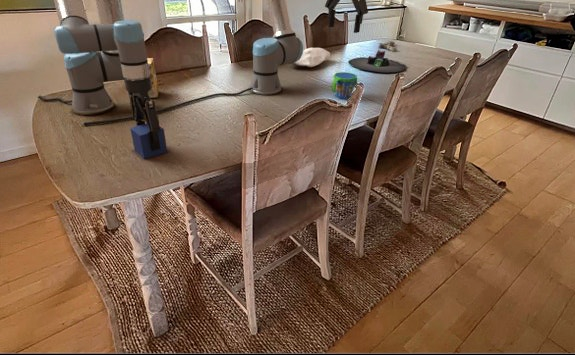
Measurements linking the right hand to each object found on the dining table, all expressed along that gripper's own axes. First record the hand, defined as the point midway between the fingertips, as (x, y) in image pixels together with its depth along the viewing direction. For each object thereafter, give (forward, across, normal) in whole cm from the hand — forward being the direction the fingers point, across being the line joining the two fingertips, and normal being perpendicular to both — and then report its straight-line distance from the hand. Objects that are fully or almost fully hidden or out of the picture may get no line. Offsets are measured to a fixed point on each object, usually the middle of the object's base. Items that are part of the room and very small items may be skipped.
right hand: (343, 29), depth 149 cm
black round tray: (+32, +26, -69) cm, 80 cm away
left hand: (+29, +9, +84) cm, 90 cm away
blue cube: (+32, +9, +84) cm, 90 cm away
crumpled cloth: (+32, +54, -34) cm, 71 cm away
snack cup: (+32, +3, -10) cm, 33 cm away
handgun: (+32, +48, -116) cm, 130 cm away
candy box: (+32, +58, +60) cm, 89 cm away
